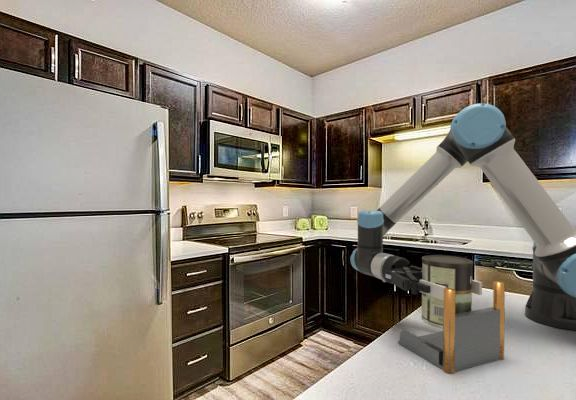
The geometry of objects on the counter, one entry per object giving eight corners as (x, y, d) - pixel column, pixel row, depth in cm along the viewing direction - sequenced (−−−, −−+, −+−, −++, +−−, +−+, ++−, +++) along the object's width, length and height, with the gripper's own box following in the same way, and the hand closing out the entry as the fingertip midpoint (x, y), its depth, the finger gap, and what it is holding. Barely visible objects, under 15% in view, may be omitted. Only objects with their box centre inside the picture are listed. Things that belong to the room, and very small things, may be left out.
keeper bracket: (449, 332, 81) (449, 269, 81) (506, 358, 68) (506, 283, 68) (397, 343, 75) (398, 274, 75) (449, 374, 62) (450, 291, 62)
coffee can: (462, 315, 76) (463, 255, 76) (479, 333, 66) (480, 264, 66) (416, 311, 78) (417, 253, 78) (426, 328, 68) (427, 262, 68)
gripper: (422, 279, 93) (498, 302, 72) (357, 286, 84) (422, 315, 64) (422, 253, 93) (499, 269, 72) (357, 257, 84) (423, 278, 64)
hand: (463, 291), depth 68 cm, fingers closed on coffee can, 10 cm apart
